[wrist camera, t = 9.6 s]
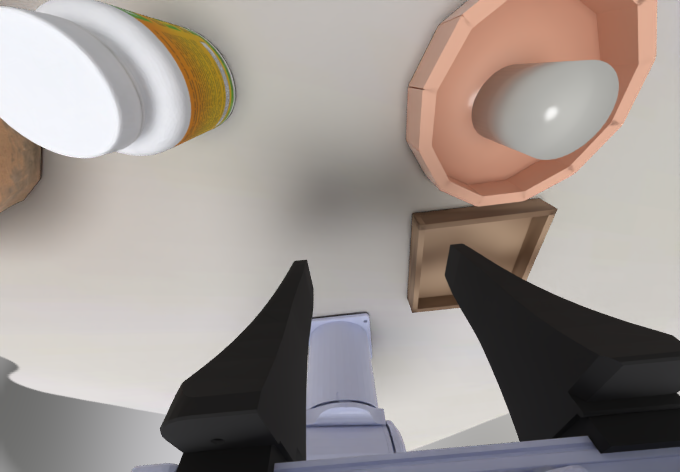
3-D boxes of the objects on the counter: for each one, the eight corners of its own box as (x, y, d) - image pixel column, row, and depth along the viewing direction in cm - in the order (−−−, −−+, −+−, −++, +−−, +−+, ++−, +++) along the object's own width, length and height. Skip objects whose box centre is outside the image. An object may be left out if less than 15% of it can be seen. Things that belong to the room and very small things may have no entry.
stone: (528, 135, 17) (592, 154, 13) (466, 143, 17) (509, 164, 13) (551, 58, 15) (638, 53, 11) (478, 68, 15) (536, 67, 11)
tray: (505, 287, 27) (517, 301, 25) (407, 298, 27) (412, 312, 26) (539, 198, 21) (557, 208, 19) (412, 213, 21) (419, 225, 20)
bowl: (556, 178, 20) (588, 193, 18) (404, 197, 20) (414, 214, 18) (646, -46, 13) (721, -74, 11) (411, -11, 13) (430, -30, 11)
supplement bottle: (210, 15, 14) (39, -70, 6) (251, 117, 17) (178, 158, 9) (125, 42, 14) (-144, 0, 6) (179, 136, 17) (47, 193, 9)
